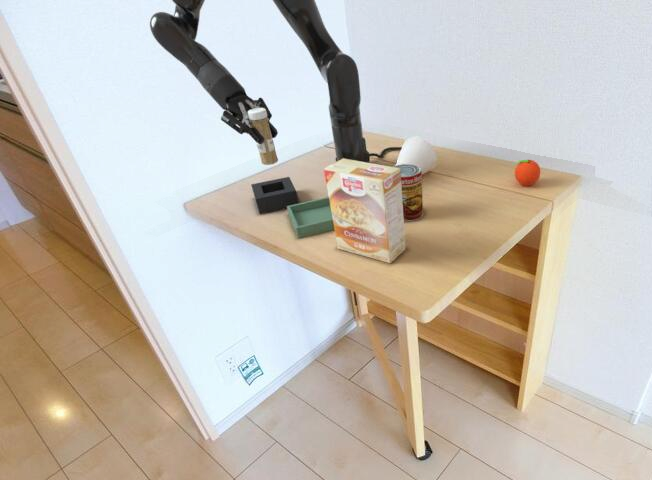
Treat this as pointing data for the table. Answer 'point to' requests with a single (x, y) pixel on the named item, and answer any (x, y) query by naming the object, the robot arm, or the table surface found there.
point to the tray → (311, 217)
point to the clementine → (527, 172)
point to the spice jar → (261, 124)
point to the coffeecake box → (367, 208)
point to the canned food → (411, 191)
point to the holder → (274, 194)
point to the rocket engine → (418, 154)
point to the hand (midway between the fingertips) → (269, 138)
